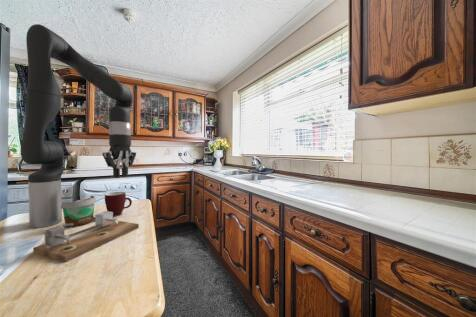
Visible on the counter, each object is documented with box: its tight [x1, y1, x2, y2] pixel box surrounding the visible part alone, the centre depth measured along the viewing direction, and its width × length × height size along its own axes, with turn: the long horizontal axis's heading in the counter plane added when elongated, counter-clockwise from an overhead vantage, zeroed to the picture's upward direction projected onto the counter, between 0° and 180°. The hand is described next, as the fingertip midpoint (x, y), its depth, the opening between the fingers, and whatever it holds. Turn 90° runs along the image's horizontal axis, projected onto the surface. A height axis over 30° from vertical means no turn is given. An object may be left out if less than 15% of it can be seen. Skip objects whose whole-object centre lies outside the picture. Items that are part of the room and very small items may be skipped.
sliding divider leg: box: [94, 210, 119, 227], centre depth 70 cm, size 8×4×4 cm, turn 72°
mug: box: [104, 191, 133, 217], centre depth 88 cm, size 10×8×10 cm
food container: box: [61, 195, 97, 228], centre depth 77 cm, size 12×6×10 cm, turn 168°
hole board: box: [32, 220, 140, 263], centre depth 64 cm, size 14×24×6 cm, turn 162°
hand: (120, 176), depth 77 cm, fingers open, 3 cm apart
